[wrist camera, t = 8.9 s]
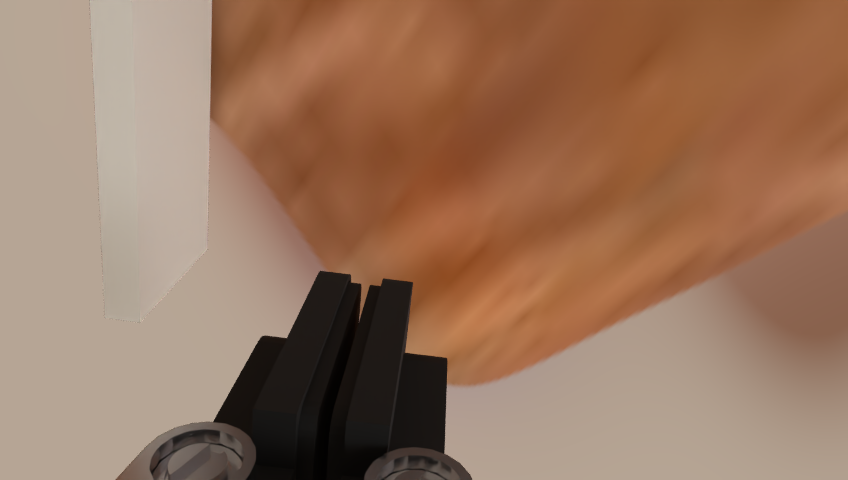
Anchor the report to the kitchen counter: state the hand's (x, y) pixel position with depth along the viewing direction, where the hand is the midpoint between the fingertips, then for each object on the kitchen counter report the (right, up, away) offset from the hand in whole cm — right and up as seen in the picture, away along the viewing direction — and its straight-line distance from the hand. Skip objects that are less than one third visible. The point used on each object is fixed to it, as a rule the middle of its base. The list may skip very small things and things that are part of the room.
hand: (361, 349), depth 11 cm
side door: (-6, +10, +8) cm, 14 cm away
